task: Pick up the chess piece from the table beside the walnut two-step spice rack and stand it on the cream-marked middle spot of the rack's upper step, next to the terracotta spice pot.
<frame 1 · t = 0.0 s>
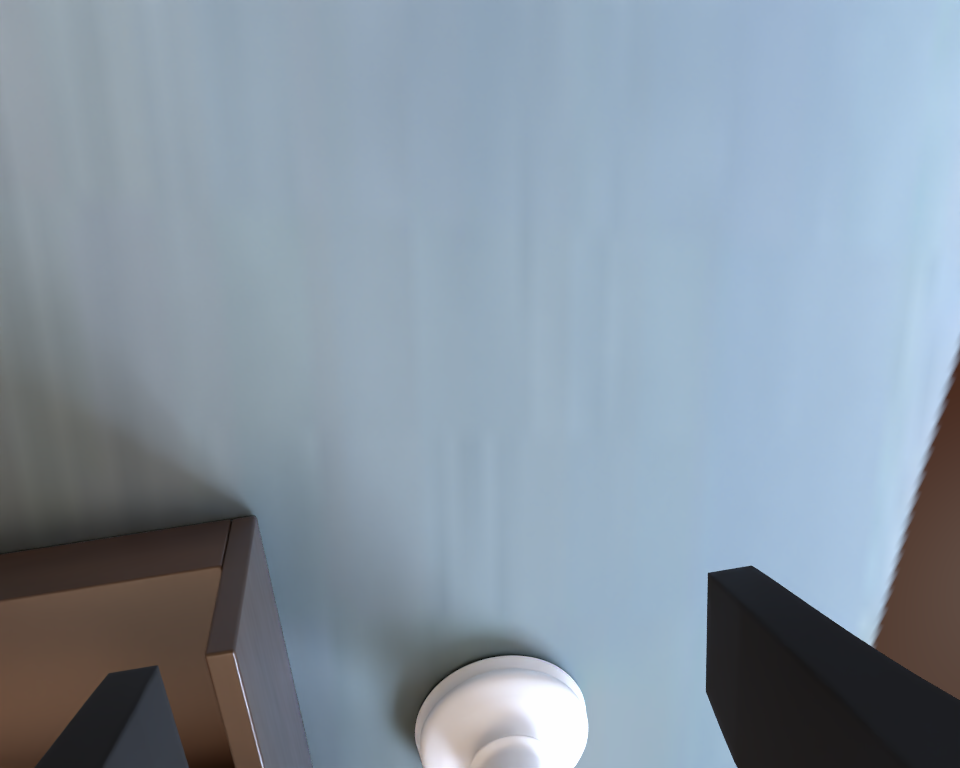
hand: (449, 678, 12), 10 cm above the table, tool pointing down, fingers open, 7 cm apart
chess piece: (499, 718, 26), on the table
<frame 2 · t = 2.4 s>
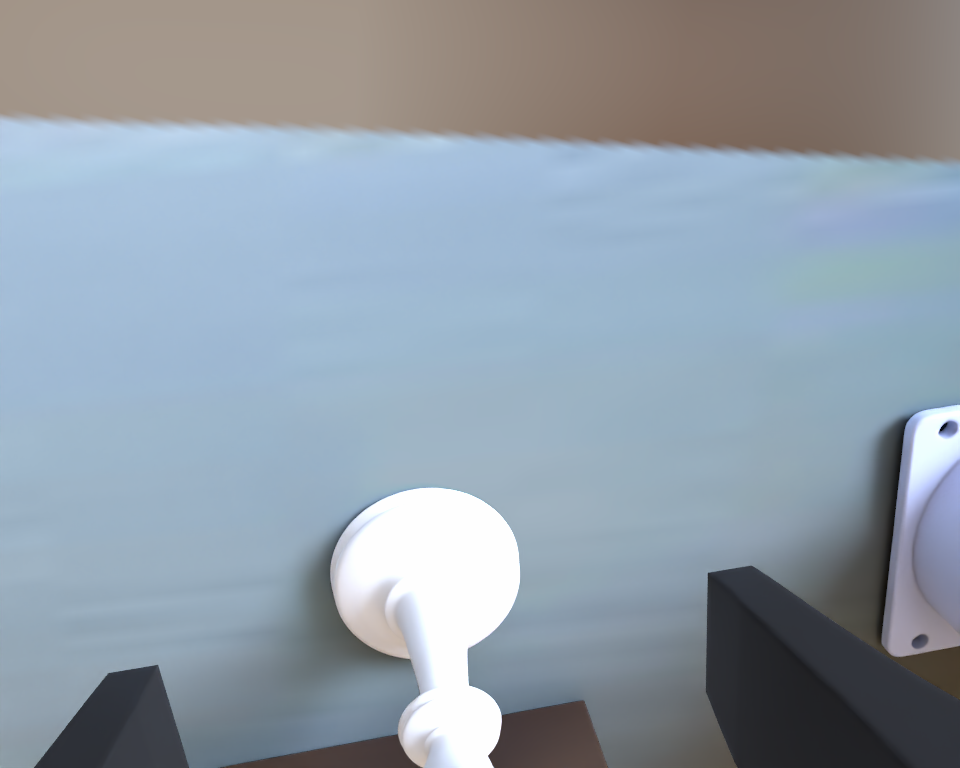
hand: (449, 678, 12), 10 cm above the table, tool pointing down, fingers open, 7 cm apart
chess piece: (425, 564, 24), on the table
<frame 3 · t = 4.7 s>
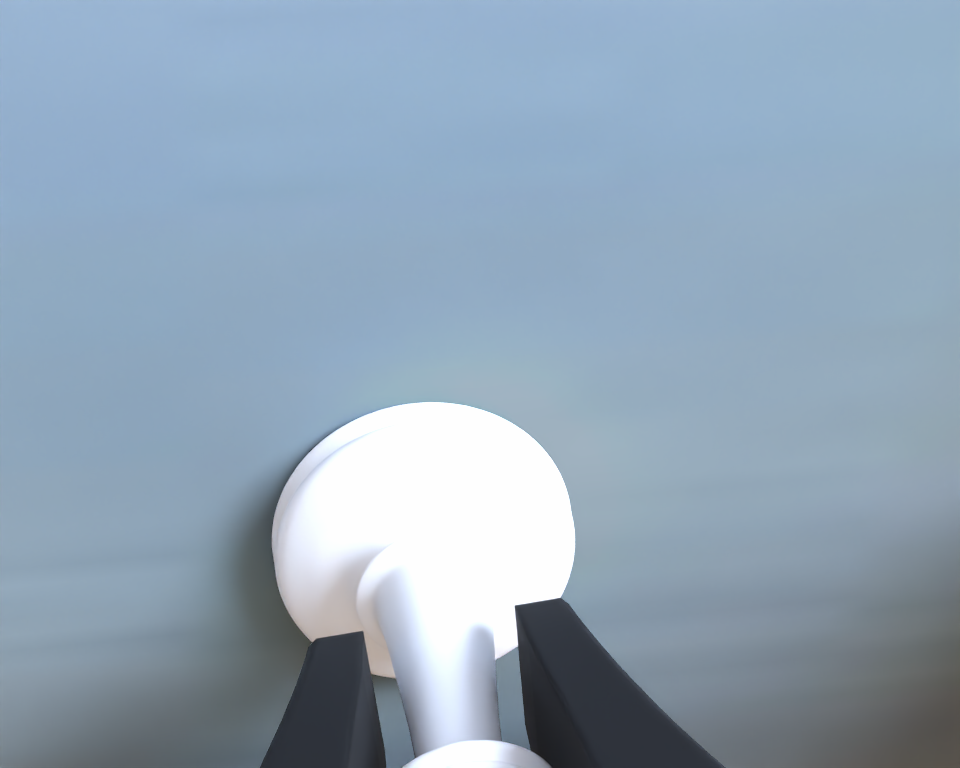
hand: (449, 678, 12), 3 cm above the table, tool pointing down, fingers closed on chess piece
chess piece: (423, 530, 15), on the table, touching gripper
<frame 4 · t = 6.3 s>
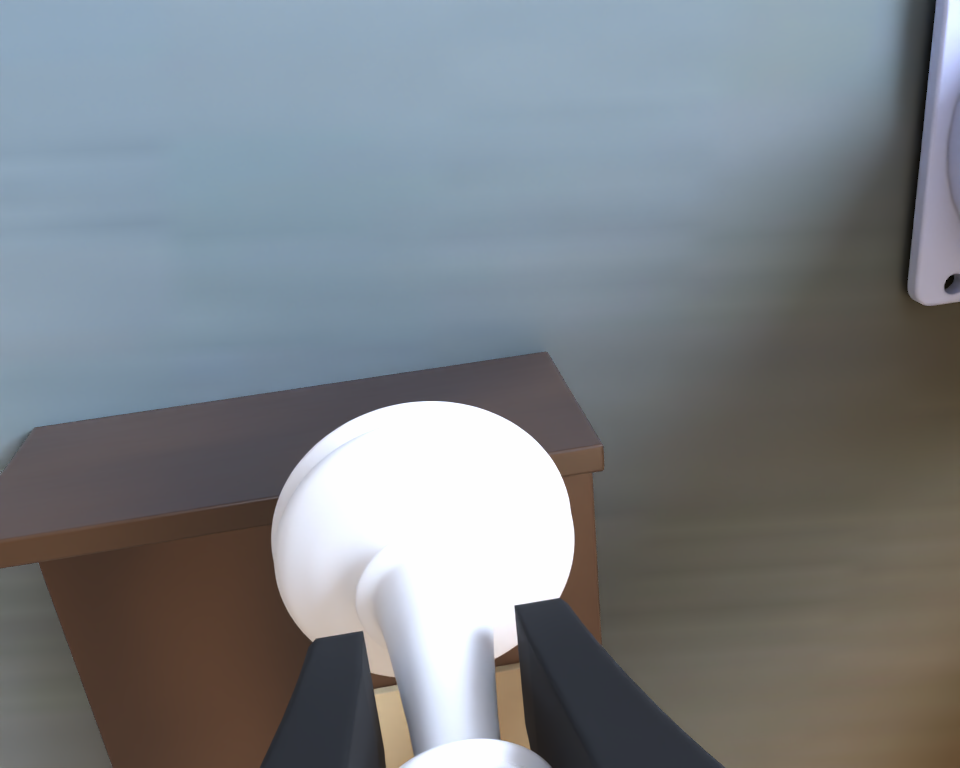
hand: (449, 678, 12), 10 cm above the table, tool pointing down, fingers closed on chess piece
spice rack: (351, 658, 24), on the table
chess piece: (423, 529, 15), point 7 cm above the table, touching gripper
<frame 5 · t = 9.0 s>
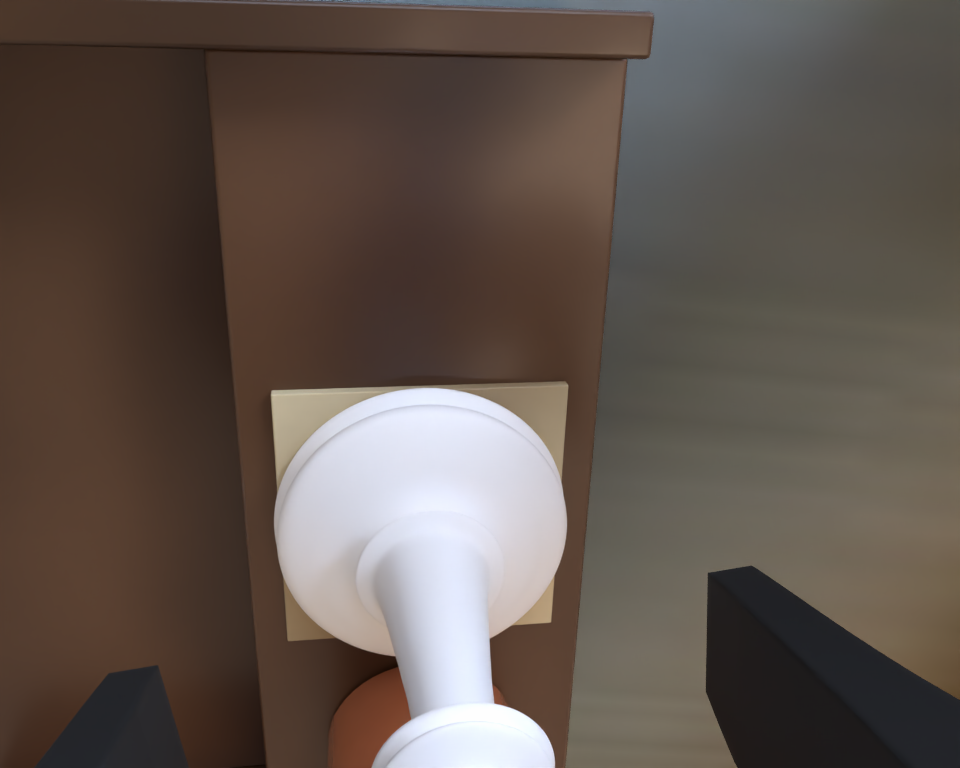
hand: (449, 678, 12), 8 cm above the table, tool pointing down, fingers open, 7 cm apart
spice rack: (262, 420, 19), on the table
spice pot: (420, 733, 17), point 4 cm above the table, touching spice rack
chess piece: (420, 512, 15), point 4 cm above the table, touching spice rack
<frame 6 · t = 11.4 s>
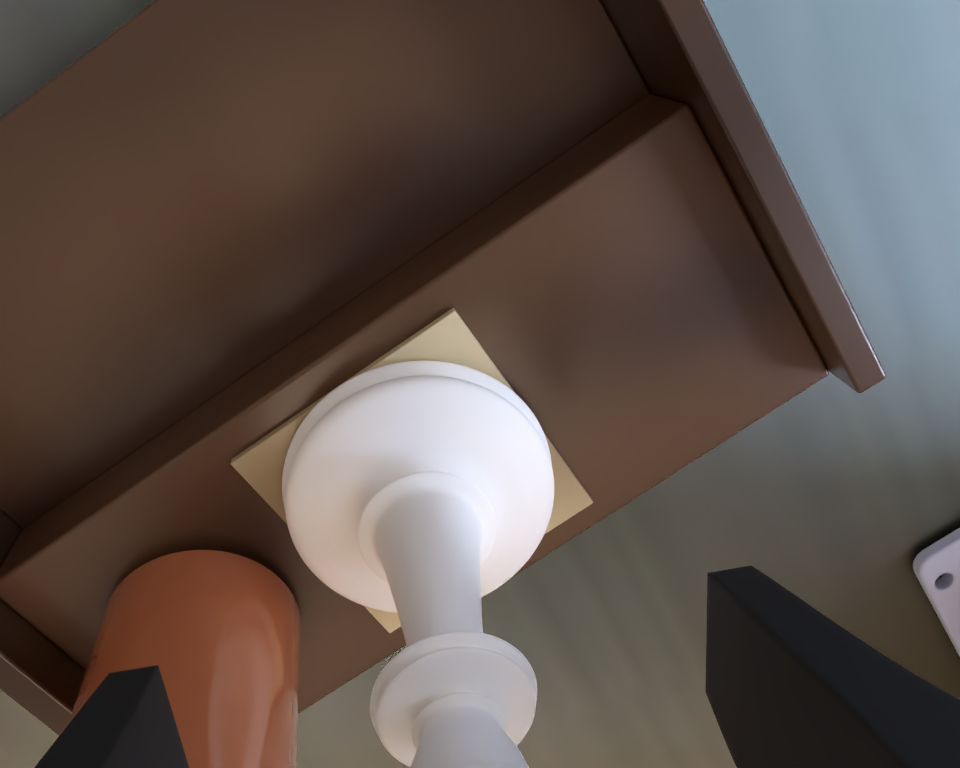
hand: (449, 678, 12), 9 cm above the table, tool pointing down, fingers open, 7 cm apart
spice rack: (322, 290, 19), on the table
spice pot: (204, 624, 17), point 4 cm above the table, touching gripper, spice rack
chess piece: (418, 478, 17), point 4 cm above the table, touching spice rack
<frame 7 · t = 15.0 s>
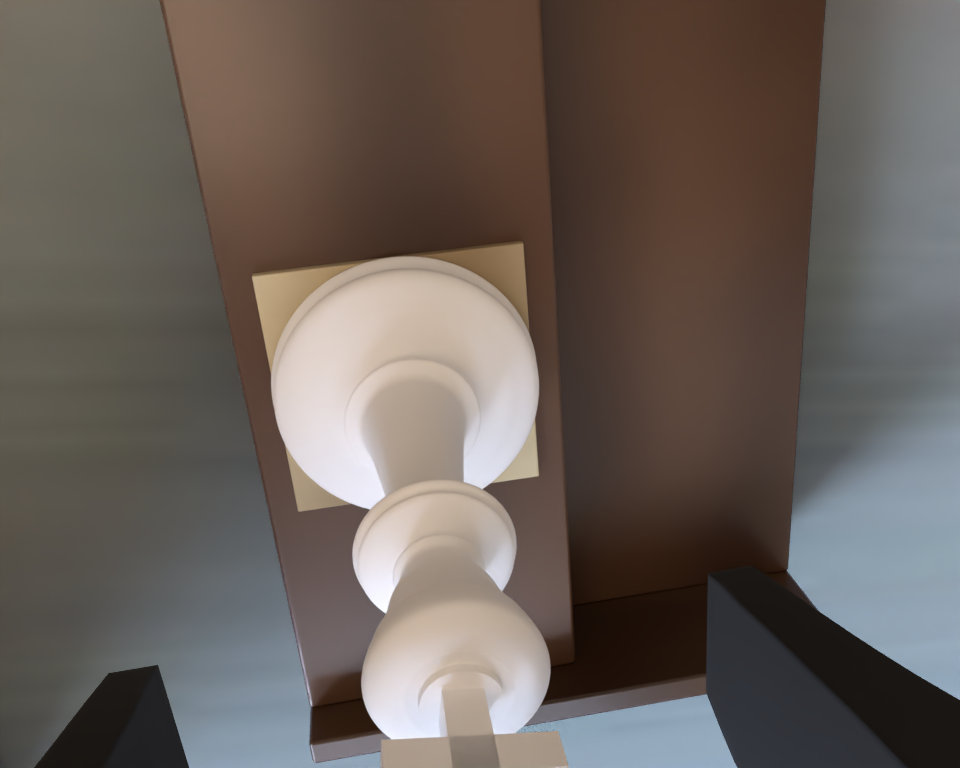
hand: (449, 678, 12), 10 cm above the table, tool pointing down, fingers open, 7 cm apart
spice rack: (521, 295, 21), on the table
chess piece: (406, 380, 17), point 4 cm above the table, touching spice rack
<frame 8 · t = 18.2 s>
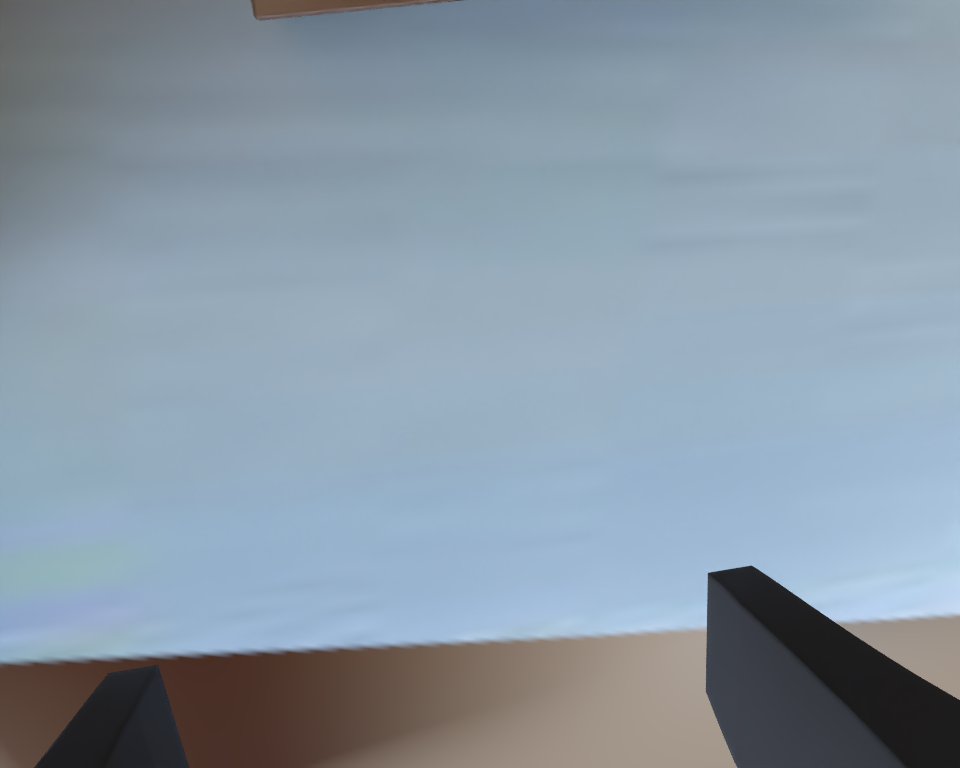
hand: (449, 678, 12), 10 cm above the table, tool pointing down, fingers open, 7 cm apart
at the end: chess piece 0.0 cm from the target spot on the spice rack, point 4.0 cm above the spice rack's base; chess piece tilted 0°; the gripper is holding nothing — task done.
